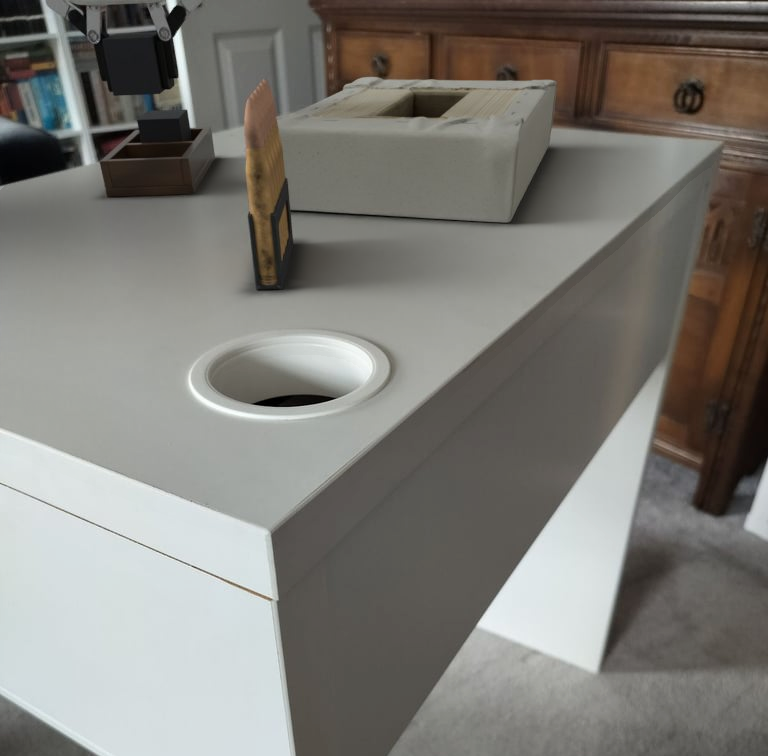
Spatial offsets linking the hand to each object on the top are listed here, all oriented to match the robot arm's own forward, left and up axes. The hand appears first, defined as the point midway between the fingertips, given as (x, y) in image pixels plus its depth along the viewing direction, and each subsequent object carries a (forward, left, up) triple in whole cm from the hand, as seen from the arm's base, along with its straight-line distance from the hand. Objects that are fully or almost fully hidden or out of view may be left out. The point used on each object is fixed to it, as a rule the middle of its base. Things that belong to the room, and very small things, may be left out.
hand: (142, 86), depth 76 cm
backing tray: (0, +4, -9) cm, 10 cm away
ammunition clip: (+14, -27, -9) cm, 32 cm away
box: (+28, -1, -9) cm, 29 cm away
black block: (0, 0, 0) cm, 0 cm away
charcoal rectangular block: (0, +8, -8) cm, 11 cm away
